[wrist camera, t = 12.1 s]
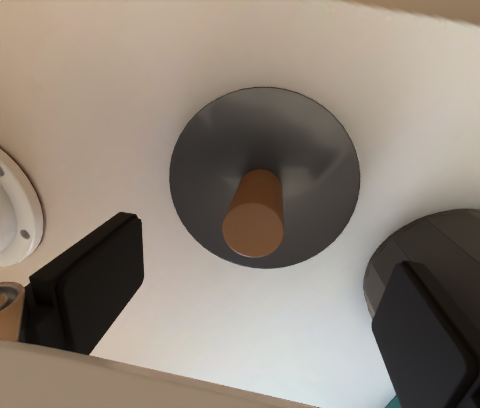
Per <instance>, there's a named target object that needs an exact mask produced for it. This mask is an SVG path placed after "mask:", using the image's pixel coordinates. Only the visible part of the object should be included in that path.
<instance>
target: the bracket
mask: <svg viewBox="0 0 480 408" xmlns="http://www.w3.org/2000/svg"><path fill="white" fill-rule="evenodd" d="M385 408H401V405H400V403H399V400H398V398H397V395H396V396H395V397H394V399H393V400H392V401H391V402H390V403H389V404H388V405H387V406H386V407H385Z"/></svg>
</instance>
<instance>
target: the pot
mask: <svg viewBox="0 0 480 408" xmlns="http://www.w3.org/2000/svg"><path fill="white" fill-rule="evenodd" d="M403 260H407V261H413V262H419V263H423V264H424V265H425V266H426V267H427V268H428V269H429V270H430V272H431V273H432V274H433V275H434V276H435V278H436V279H437V280H438V281H439V282H440V284H441V285H442V286H443V287H444V288H445V290H446V291H447V292H448V293H449V294H450V296H451V297H452V298H453V299H454V300H455V302H456V303H457V304H458V305H459V306H460V308H461V309H462V310H463V311H464V312H465V314H466V315H467V316H468V317H469V318H470V320H471V321H472V322H473V323H474V324H475V326H476V327H477V328H478V329H479V330H480V210H472V209H464V210H452V211H445V212H440V213H436V214H433V215H429V216H426V217H424V218H421V219H418V220H416V221H414V222H412V223H410V224H408V225H406V226H404V227H403V228H401V229H400V230H398V231H397V232H395V233H394V234H393V235H392V236H390V237H389V238H388V239H387V240H386V241H385V242H384V243H383V244H382V245H381V246H380V247H379V248H378V249H377V251H376V252H375V253H374V255H373V256H372V258H371V260H370V262H369V264H368V266H367V269H366V272H365V277H364V287H363V288H364V295H365V299H366V302H367V305H368V310H369V312H370V315H371V317H372V320H373V317H374V315H375V312H376V310H377V307H378V305H379V303H380V300H381V298H382V295H383V293H384V290H385V288H386V286H387V283H388V281H389V278H390V276H391V273H392V271H393V269H394V266H395V265H396V264H397V263H401V262H402V261H403Z"/></svg>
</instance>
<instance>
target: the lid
mask: <svg viewBox="0 0 480 408" xmlns="http://www.w3.org/2000/svg"><path fill="white" fill-rule="evenodd" d="M169 181H170V191H171V195H172V200H173V203H174V206H175V209H176V211H177V214H178V216H179V218H180V219H181V221H182V223H183V225H184V226H185V227H186V229H187V230H188V232H189V233H190V234H191V235H192V236H193V237H194V239H195V240H196V241H197V242H199V243H200V244H201V245H202V246H203V247H204V248H206V249H207V250H208V251H210V252H211V253H213V254H214V255H216V256H218V257H220V258H222V259H224V260H226V261H229V262H231V263H234V264H237V265H240V266H245V267H250V268H260V269H272V268H281V267H287V266H291V265H294V264H297V263H300V262H303V261H305V260H307V259H309V258H311V257H313V256H315V255H317V254H318V253H320V252H321V251H323V250H324V249H326V248H327V247H328V246H329V245H330V244H331V243H332V242H334V241H335V239H336V238H337V237H338V236H339V235H340V234H341V233H342V231H343V230H344V228H345V227H346V225H347V224H348V222H349V220H350V218H351V216H352V214H353V212H354V209H355V206H356V203H357V200H358V195H359V189H360V169H359V162H358V158H357V154H356V150H355V148H354V146H353V143H352V141H351V139H350V137H349V135H348V134H347V132H346V130H345V129H344V127H343V126H342V125H341V123H340V122H339V121H338V120H337V119H336V118H335V116H334V115H333V114H331V113H330V112H329V111H328V110H327V109H326V108H325V107H323V106H322V105H320V104H319V103H317V102H316V101H314V100H313V99H311V98H308V97H306V96H304V95H302V94H300V93H297V92H293V91H290V90H287V89H281V88H274V87H253V88H247V89H241V90H238V91H234V92H231V93H228V94H226V95H224V96H222V97H219V98H217V99H215V100H214V101H212V102H211V103H209V104H208V105H206V106H205V107H204V108H202V109H201V110H200V111H199V112H198V113H197V114H196V115H195V116H194V117H193V118H192V119H191V120H190V121H189V123H188V124H187V125H186V127H185V128H184V130H183V131H182V133H181V134H180V136H179V138H178V141H177V143H176V145H175V148H174V151H173V154H172V158H171V164H170V177H169Z"/></svg>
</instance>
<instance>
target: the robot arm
mask: <svg viewBox="0 0 480 408" xmlns="http://www.w3.org/2000/svg"><path fill="white" fill-rule="evenodd" d="M42 233H43V215H42V210H41V205H40V202H39V200H38V197H37V194H36V192H35V190H34V188H33V187H32V185H31V183H30V181H29V179H28V178H27V177H26V175H25V174H24V173H23V171H22V170H21V169H20V167H19V166H18V165H17V164H16V163H15V162H14V161H13V160H12V159H11V158H10V157H9V156H8V155H7V154H6V153H5V152H4V151H2V150H1V149H0V267H6V266H10V265H13V264H16V263H18V262H20V261H21V260H23V259H24V258H26V257H28V256H29V255H30V254H31V253H32V252H33V251H34V250H35V249H36V248H37V246H38V244H39V243H40V241H41V237H42ZM143 279H144V263H143V241H142V222H141V219H138V217H137V215H136V214H131V213H125V212H119V213H118V214H116V215H115V216H113V217H112V218H111V219H109V220H108V221H106V222H105V223H104V224H102V225H101V226H99V227H98V228H97V229H95V230H94V231H92V232H91V233H90V234H88V235H87V236H86V237H84V238H83V239H81V240H80V241H79V242H77V243H76V244H74V245H73V246H72V247H70V248H69V249H67V250H66V251H65V252H63V253H62V254H60V255H59V256H58V257H56V258H55V259H53V260H52V261H51V262H49V263H48V264H46V265H45V266H44V267H42V268H41V269H39V270H38V271H37V272H35V273H34V274H32V275H31V276H30V277H29V280H30V283H29V284H28V285H27V286H25V287H23V286H22V285H21V284H18V283H15V282H1V283H0V408H319V407H315V406H311V405H306V404H302V403H298V402H293V401H289V400H285V399H280V398H276V397H272V396H267V395H263V394H259V393H254V392H250V391H246V390H241V389H237V388H232V387H228V386H224V385H219V384H215V383H210V382H206V381H202V380H197V379H193V378H188V377H184V376H180V375H175V374H171V373H166V372H162V371H157V370H153V369H148V368H144V367H139V366H135V365H130V364H126V363H121V362H117V361H112V360H108V359H103V358H99V357H94V356H89V354H90V353H91V352H92V350H93V349H94V348H95V346H96V345H97V344H98V342H99V341H100V340H101V338H102V337H103V336H104V334H105V333H106V332H107V330H108V329H109V328H110V326H111V325H112V324H113V322H114V321H115V320H116V318H117V317H118V316H119V314H120V313H121V312H122V310H123V309H124V307H125V306H126V305H127V303H128V302H129V301H130V299H131V298H132V297H133V295H134V294H135V293H136V291H137V290H138V289H139V287H140V286H141V284H142V282H143ZM372 331H373V334H374V337H375V339H376V342H377V344H378V347H379V350H380V352H381V355H382V358H383V360H384V363H385V366H386V368H387V371H388V374H389V376H390V379H391V382H392V384H393V387H394V390H395V392H396V395H397V398H398V400H399V403H400V405H401V408H480V330H479V329H478V328H477V327H476V326H475V324H474V323H473V322H472V321H471V320H470V318H469V317H468V316H467V315H466V314H465V312H464V311H463V310H462V309H461V308H460V306H459V305H458V304H457V303H456V302H455V300H454V299H453V298H452V297H451V296H450V294H449V293H448V292H447V291H446V290H445V288H444V287H443V286H442V285H441V284H440V282H439V281H438V280H437V279H436V278H435V276H434V275H433V274H432V273H431V272H430V270H429V269H428V268H427V267H426V266H425V265H424V264H423V263H419V262H413V261H407V260H403V261H402V262H401V263H397V264H396V265H395V266H394V269H393V271H392V273H391V276H390V278H389V281H388V283H387V286H386V288H385V290H384V293H383V295H382V298H381V300H380V303H379V305H378V307H377V310H376V312H375V315H374V317H373V320H372Z"/></svg>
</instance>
